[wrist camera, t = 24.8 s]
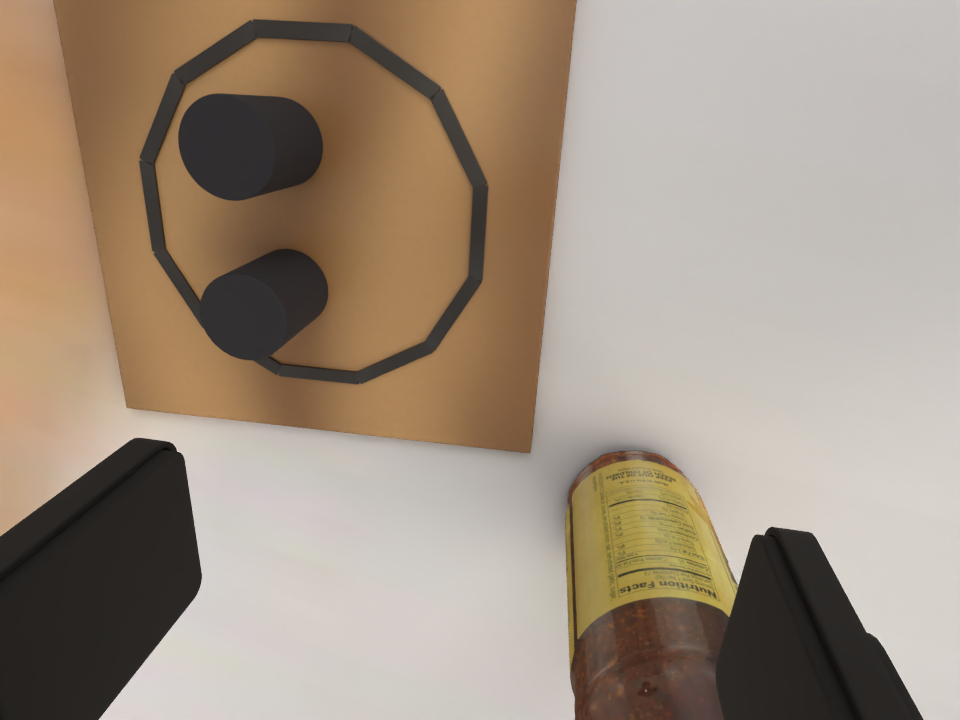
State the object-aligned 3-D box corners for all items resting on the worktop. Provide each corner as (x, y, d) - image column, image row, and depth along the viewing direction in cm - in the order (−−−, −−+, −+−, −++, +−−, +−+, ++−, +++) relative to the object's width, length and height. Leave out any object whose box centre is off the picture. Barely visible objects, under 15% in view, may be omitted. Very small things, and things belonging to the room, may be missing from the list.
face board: (581, -50, 22) (582, -55, 21) (530, 447, 29) (530, 455, 28) (51, -70, 23) (35, -75, 23) (134, 403, 31) (124, 409, 30)
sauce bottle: (661, 568, 31) (810, 1236, 12) (544, 524, 31) (522, 1135, 12) (725, 464, 28) (1031, 1112, 10) (598, 416, 28) (671, 982, 10)
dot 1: (327, 251, 26) (283, 278, 22) (330, 327, 27) (289, 365, 23) (251, 245, 26) (193, 270, 22) (257, 320, 28) (203, 356, 24)
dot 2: (321, 99, 24) (271, 96, 20) (324, 189, 25) (278, 204, 21) (238, 94, 24) (171, 90, 20) (245, 183, 25) (184, 197, 21)
